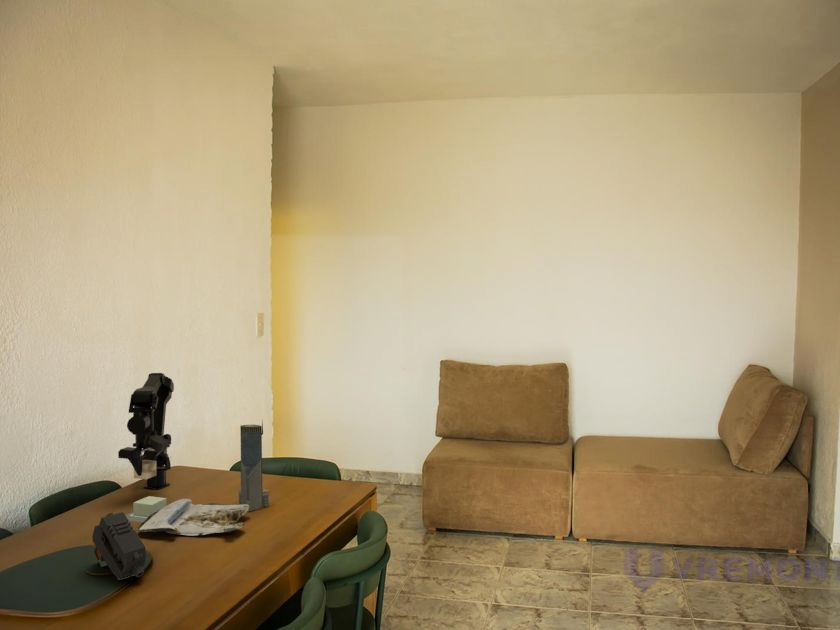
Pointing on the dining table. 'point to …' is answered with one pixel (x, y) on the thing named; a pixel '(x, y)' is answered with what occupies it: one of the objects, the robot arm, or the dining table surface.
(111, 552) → the tool
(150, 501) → the sage block
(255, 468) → the building
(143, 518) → the slate mat
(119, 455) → the robot arm
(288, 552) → the dining table surface
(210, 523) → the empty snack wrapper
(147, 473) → the birch cube
